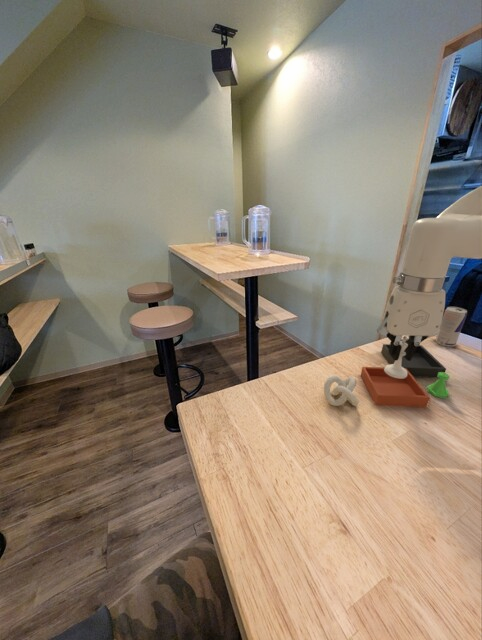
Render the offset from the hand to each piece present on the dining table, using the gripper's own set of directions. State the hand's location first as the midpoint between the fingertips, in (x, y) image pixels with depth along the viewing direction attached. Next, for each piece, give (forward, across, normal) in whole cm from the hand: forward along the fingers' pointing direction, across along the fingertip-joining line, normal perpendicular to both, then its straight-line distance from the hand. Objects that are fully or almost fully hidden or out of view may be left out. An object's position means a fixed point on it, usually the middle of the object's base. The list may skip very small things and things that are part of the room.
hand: (399, 356), depth 60 cm
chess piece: (+5, 0, 0) cm, 5 cm away
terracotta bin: (+10, 0, 0) cm, 10 cm away
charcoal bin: (+10, +10, +12) cm, 19 cm away
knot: (+10, -13, -5) cm, 17 cm away
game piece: (+10, +11, 0) cm, 15 cm away
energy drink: (+10, +27, +25) cm, 38 cm away
